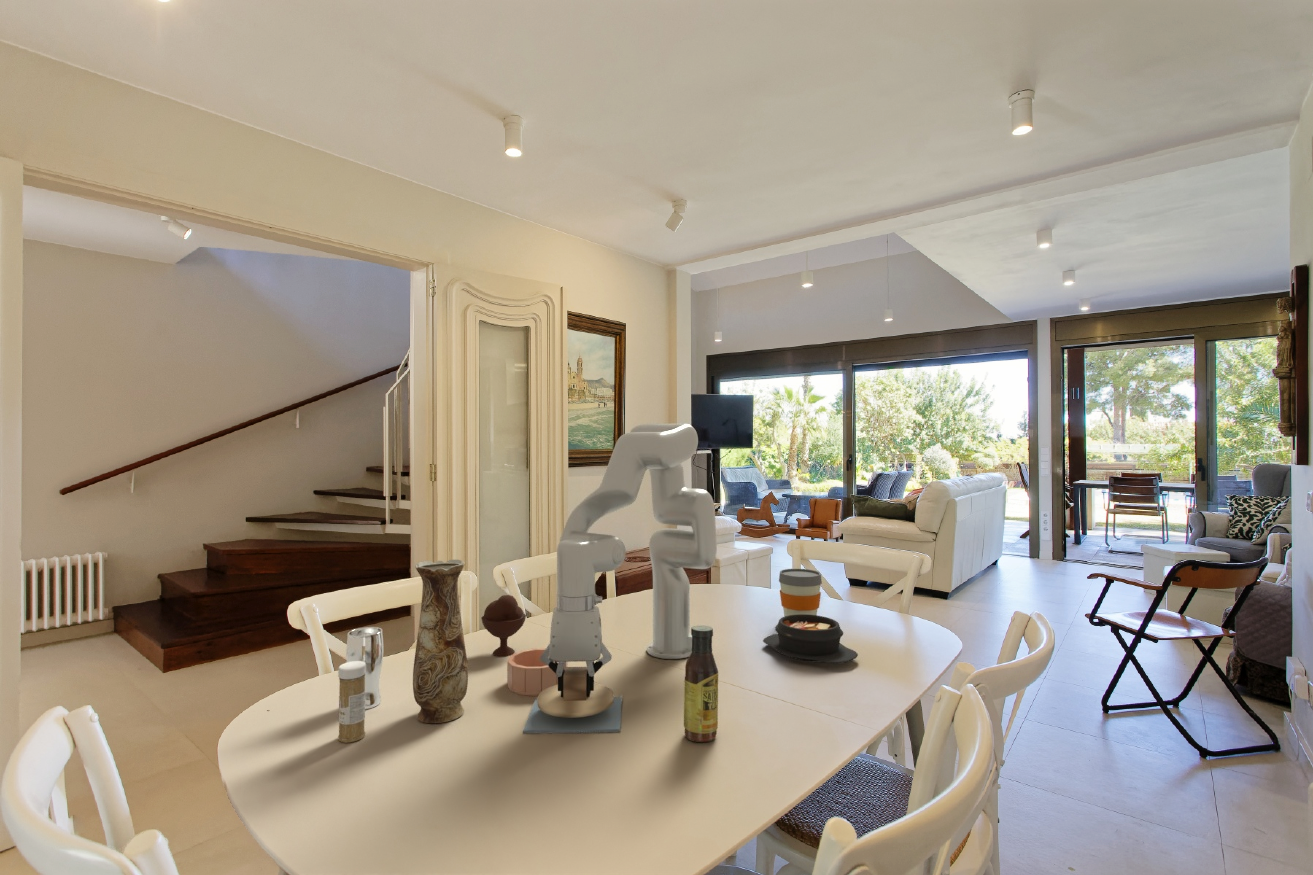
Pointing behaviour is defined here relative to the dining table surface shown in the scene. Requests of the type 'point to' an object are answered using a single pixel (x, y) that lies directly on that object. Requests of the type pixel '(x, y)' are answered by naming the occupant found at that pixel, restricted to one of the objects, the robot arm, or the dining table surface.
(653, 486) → the robot arm
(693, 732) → the sauce bottle
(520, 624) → the ice cream bowl
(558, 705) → the lid
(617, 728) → the mat
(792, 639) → the casserole
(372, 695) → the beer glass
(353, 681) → the sprinkles bottle
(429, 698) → the vase
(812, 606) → the reusable coffee cup
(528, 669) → the bowl
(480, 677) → the dining table surface
